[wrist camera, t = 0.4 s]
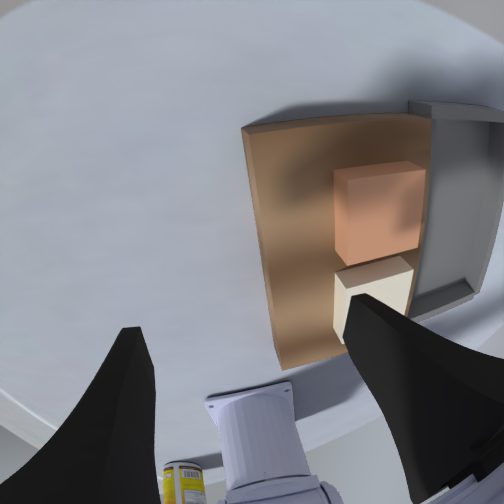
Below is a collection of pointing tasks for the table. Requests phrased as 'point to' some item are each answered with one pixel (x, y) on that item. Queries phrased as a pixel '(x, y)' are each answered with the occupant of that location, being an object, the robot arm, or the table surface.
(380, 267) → the tile cream
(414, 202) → the tile terracotta
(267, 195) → the plate
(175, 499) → the supplement bottle
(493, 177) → the box
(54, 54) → the table surface
